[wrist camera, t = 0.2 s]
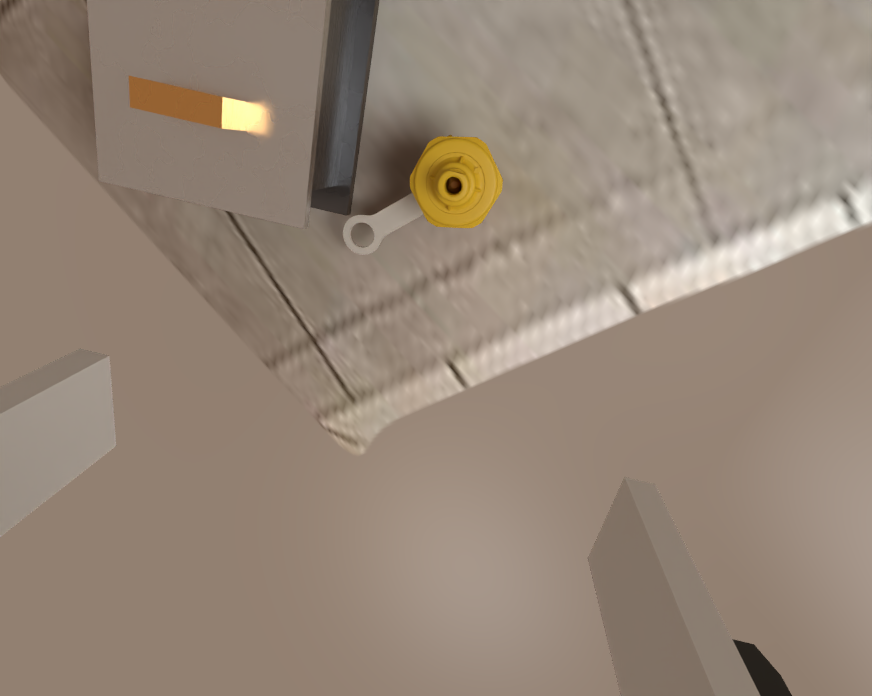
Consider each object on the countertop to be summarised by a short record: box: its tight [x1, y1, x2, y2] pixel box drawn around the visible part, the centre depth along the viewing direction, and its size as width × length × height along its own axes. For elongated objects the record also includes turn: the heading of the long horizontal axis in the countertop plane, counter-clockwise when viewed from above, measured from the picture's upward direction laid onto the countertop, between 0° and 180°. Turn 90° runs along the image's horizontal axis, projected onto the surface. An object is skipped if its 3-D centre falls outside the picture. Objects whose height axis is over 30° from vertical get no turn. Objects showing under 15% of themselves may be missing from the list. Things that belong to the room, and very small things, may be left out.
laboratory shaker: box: [87, 0, 379, 229], centre depth 28 cm, size 19×14×11 cm
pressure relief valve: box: [343, 135, 503, 255], centre depth 32 cm, size 6×12×10 cm, turn 119°
